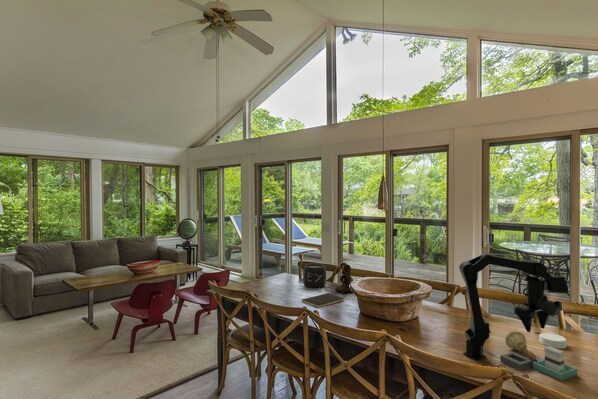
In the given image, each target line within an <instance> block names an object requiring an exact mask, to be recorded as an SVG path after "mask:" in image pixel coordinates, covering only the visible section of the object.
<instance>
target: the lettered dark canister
mask: <svg viewBox="0 0 598 399" xmlns="http://www.w3.org/2000/svg"><path fill="white" fill-rule="evenodd" d="M302 270H303V271H302V280H303V281H302V284H303V285H304V287H305V288H306V289H314V290H317V289H323V288H325V287H326V285H327V281H326V280H327V272H326V271H327V267H326V266H325V265H324V264H321V263H307V264H305V265H304V266H303V267H302Z"/></svg>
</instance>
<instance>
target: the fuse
mask: <svg viewBox="0 0 598 399" xmlns="http://www.w3.org/2000/svg"><path fill="white" fill-rule="evenodd" d="M544 358H545V367H547V368H549V369H552V370H554V371H557V372H559V373H562V372H565V368H564V364H565V351H564V350H562V349H561V350H560V349H559V348H553V347H550V346H545V347H544Z"/></svg>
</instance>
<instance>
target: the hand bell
mask: <svg viewBox="0 0 598 399" xmlns="http://www.w3.org/2000/svg"><path fill="white" fill-rule="evenodd" d="M504 340H505V344H506V346H507V347H508V348H509V349H511V350H515V351H516V350H517V351H519V352H524V353H525V355H526V357H527V358H529V359H531V360H533V362H536V361H538V359H537V357H536V354H534V353H533V352H532V351H530V350H528V349H527V348H528V346H527V345H528V344H527V340H526V336H525V335H524V334H523V333H522V332H520V331H516V330H515V331H510V332H509V333H507V335H506V337H505V339H504Z"/></svg>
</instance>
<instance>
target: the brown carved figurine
mask: <svg viewBox="0 0 598 399" xmlns="http://www.w3.org/2000/svg"><path fill="white" fill-rule="evenodd" d="M340 269H341V274H342V275H341V276H340V278H339V280H340V282H341V284H338V285H336V286H335V291H338V292H340V294H343V292H344V293H346V292H348V293H349V292H350V293H351V292H352V291H351V289H350V288H349V285H351V284H352V278H351V277H352V276H351V269H352V268H351V266H350V265H349V264H348V263H346V262H342V263H341V264H340Z"/></svg>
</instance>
